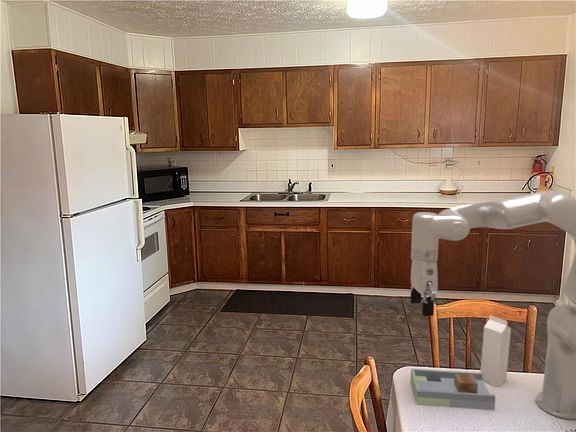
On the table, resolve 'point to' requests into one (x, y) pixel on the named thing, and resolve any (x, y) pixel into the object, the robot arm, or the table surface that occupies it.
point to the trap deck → (448, 390)
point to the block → (465, 383)
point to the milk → (495, 351)
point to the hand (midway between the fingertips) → (421, 309)
